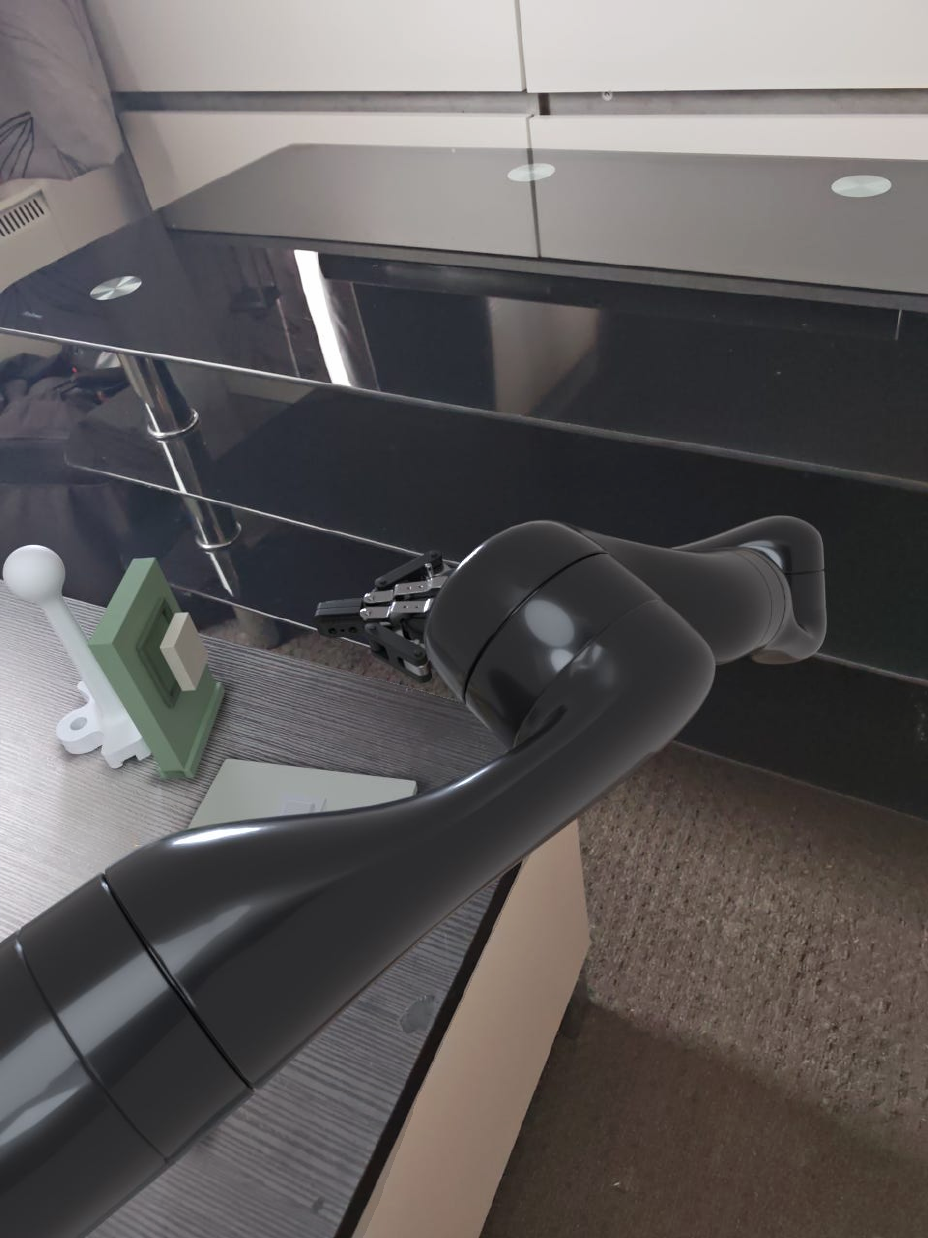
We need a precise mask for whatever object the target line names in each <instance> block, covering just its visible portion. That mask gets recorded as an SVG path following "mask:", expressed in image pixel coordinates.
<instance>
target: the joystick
mask: <svg viewBox="0 0 928 1238" xmlns="http://www.w3.org/2000/svg"><path fill="white" fill-rule="evenodd" d="M4 561H5V562H4V564H3V566H2V579H3V582H4V584H5V587H6V588H7V590H8V591H9V592H10V593H11V595H14V596H15V597H16V598H18V599H20V600H23V601H25V602H30V603H32V604H35V605H36V606H38V608H39V609H40V610H41V611H42V613H43V614H44V616H45V618H46V619H47V621H48V623H49V625H50V626H51V628H52V630H53V632H54V633H55V635H56V637H57V639H58V640H59V642H60V643H61V645H62V647H63V649H64V651H65V652H66V655H67V656H68V657H69V659H70V661H71V663H72V665H73V666H74V668H75V670H76V671H77V673H78V675H79V676H80V678H81V680H80V681H79V682H78V683H77V685H76V688H77V689H78V691H79V693H80V694H81V696H82V697H83V699H84V701H85V702H86V704H85V705H83V706H82V707H81V706H80V707H79V708H76V709H73V710H71V711H69V712H68V713H67V714H66V715H64V717H62V718H61V719H60V720H59V722H58V724H57V725H56V729H55V735H56V737H57V738H58V739H59V741H60V743H61V744H62V746H63V747H64V748H65V750H66V751H67V752H68V753H70V754H73V755H82V754H87V753H90V752H92V751H94V750H96V749H98V747H100V746H101V749H100V750H101V751H100V753H101V755H102V756H103V758H104V760H105V761H106V763H107V765H109V767H110V768H111V769H118V768H120V767H123V765H124V761H126V760H128V759H130V758H132V757H134V756H136V758H137V760H138V762H139V761H142V760H144V759H145V758H147V757H149V756H151V754H152V753H151V751H150V749H149V748H148V746H147V744H146V743H145V741H144V739H143V738H142V736H141V734H140V733H139V731H138V729H137V728H136V726H135V724H134V723H133V721H132V719H131V718H130V716H129V714H128V713H127V711H126V709H125V708H124V706H123V704H122V703H121V701H120V699H119V698H118V696H117V694H116V693H115V691H114V689H113V687H112V686H111V684H110V682H109V681H108V679H107V677H106V676H105V674H104V672H103V671H102V669H101V667H100V666H99V664H98V662H97V661H96V659H95V657H94V656H93V654H92V652H91V651H90V649H89V647H88V646H87V644H88V642H89V640H90V638H89V636H88V634H87V633H86V631H85V630H84V628H83V626H82V625H81V623H80V622H79V620H78V618H77V617H76V615H75V614H74V612H73V610H72V609H71V607H70V606H69V604H68V603H67V601H66V599H65V598H64V596H63V591H62V590H63V586H64V584H65V580H66V568H65V564H64V562H63V560H62V558H60V556H59V555H58V554H57V553H56V552H55V551H53V550H52V549H51V548H49V547H46V546H43V545H38V544H29V545H24V546H21V547H19V548H17V549H15V550H14V551H13V552H11V553H10V554H9V555H8V557H7V558H6V559H5V560H4Z"/></svg>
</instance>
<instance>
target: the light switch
mask: <svg viewBox="0 0 928 1238" xmlns="http://www.w3.org/2000/svg"><path fill="white" fill-rule="evenodd" d="M418 790H419V789H418V784H417V782H416V780H411V779H402V778H396V777H395V778H393V777H386V776H378V775H370V774H361V773H354V772H343V771H336V770H327V769H321V768H320V769H319V768H311V767H303V766H294V765H285V764H278V763H270V762H260V761H252V760H245V759H244V760H243V759H237V758H226V759H225V760H224V761H223V763H222V764H221V767H220V769H219V770H218V772H217V774H216V776H215V778H214V780H213V781H212V783H211V784H210V787H209V789H208V790H207V792H206V793H205V796H204V798H203V799H202V801H201V803H200V805H199V806H198V808H197V810H196V812H195V814H194V816H193V817H192V818H191V821H190V823H189V824H188V826H187V828H186V829H189V828H194V827H199V826H205V825H210V824H217V823H224V822H231V821H238V820H245V819H254V818H264V817H274V816H283V815H293V814H304V813H314V812H324V811H335V810H343V809H350V808H357V807H364V806H371V805H376V804H380V803H385V802H389V801H394V800H398V799H402V798H405V797H409V796H413V795H417V794H418Z"/></svg>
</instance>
